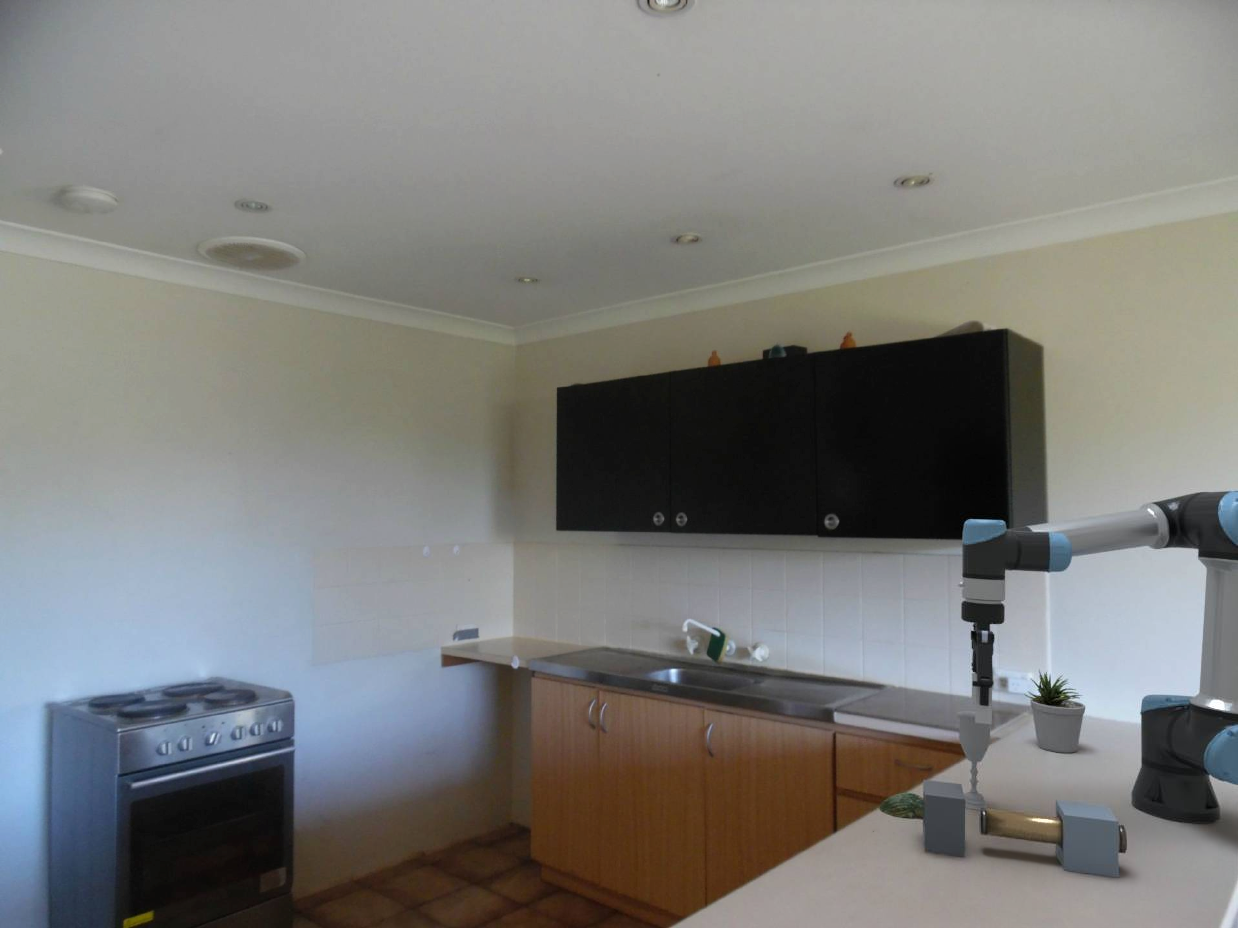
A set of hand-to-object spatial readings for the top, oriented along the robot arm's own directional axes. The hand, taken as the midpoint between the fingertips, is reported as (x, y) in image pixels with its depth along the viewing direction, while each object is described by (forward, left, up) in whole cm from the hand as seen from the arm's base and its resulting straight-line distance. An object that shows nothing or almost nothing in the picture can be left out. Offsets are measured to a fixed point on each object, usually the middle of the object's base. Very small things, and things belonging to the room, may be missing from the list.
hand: (981, 715), depth 162 cm
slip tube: (-10, +10, -18) cm, 23 cm away
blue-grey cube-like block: (-16, +10, -21) cm, 28 cm away
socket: (+7, +10, -21) cm, 25 cm away
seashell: (+13, -6, -22) cm, 26 cm away
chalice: (0, -15, -21) cm, 26 cm away
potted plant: (-24, -71, -21) cm, 78 cm away
